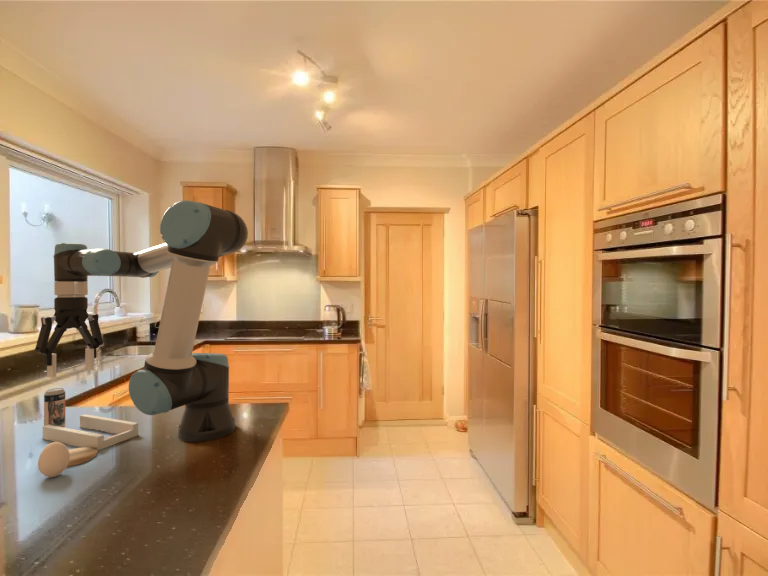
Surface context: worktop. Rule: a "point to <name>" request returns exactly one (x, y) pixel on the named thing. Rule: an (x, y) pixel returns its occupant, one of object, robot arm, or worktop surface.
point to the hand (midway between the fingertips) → (71, 373)
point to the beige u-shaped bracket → (89, 439)
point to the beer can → (54, 407)
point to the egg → (53, 459)
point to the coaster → (81, 455)
